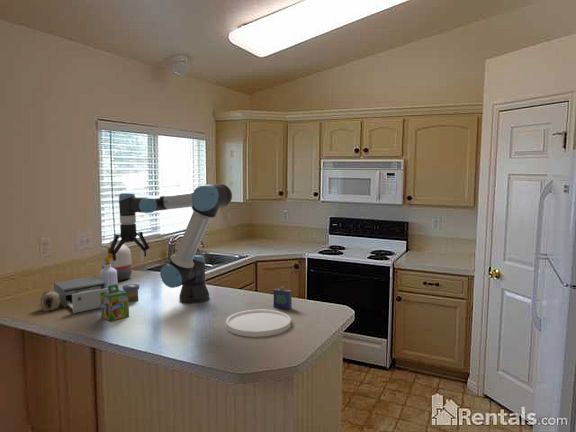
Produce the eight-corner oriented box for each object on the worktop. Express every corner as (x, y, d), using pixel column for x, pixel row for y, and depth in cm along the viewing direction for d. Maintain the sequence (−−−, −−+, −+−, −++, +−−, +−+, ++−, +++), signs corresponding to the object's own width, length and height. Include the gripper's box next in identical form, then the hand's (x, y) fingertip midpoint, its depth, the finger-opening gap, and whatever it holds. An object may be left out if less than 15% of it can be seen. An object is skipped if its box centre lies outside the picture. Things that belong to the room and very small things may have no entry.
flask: (292, 308, 211) (292, 286, 210) (290, 310, 208) (289, 288, 207) (274, 306, 214) (274, 284, 213) (272, 308, 212) (272, 286, 210)
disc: (141, 289, 225) (141, 285, 225) (126, 292, 219) (126, 288, 219) (135, 286, 231) (135, 282, 231) (120, 288, 225) (120, 285, 225)
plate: (266, 342, 170) (266, 336, 170) (212, 329, 185) (212, 323, 185) (303, 321, 194) (302, 315, 194) (251, 310, 209) (251, 305, 208)
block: (138, 300, 226) (137, 289, 225) (128, 302, 222) (128, 290, 222) (134, 298, 229) (134, 287, 229) (125, 300, 226) (124, 288, 225)
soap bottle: (96, 290, 245) (94, 247, 242) (109, 286, 253) (106, 244, 251) (109, 292, 242) (106, 248, 239) (121, 287, 250) (119, 245, 247)
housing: (106, 299, 228) (105, 282, 227) (64, 307, 215) (63, 289, 214) (95, 292, 242) (94, 276, 241) (55, 299, 229) (53, 282, 228)
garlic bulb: (42, 314, 213) (34, 295, 212) (60, 307, 218) (53, 288, 218) (47, 312, 206) (39, 292, 206) (65, 305, 212) (58, 286, 212)
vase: (107, 276, 278) (105, 239, 275) (135, 275, 280) (133, 238, 277) (98, 283, 261) (96, 243, 259) (128, 282, 263) (126, 243, 260)
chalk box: (111, 322, 194) (109, 289, 192) (100, 317, 200) (98, 285, 198) (130, 316, 201) (128, 285, 199) (119, 312, 207) (118, 281, 205)
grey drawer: (114, 304, 218) (113, 287, 217) (73, 313, 205) (72, 295, 204) (101, 297, 232) (100, 280, 231) (63, 304, 219) (61, 287, 218)
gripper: (148, 220, 233) (150, 260, 235) (100, 225, 216) (102, 267, 219) (154, 222, 227) (156, 262, 229) (105, 226, 211) (107, 270, 213)
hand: (130, 265), depth 224 cm, fingers open, 13 cm apart
